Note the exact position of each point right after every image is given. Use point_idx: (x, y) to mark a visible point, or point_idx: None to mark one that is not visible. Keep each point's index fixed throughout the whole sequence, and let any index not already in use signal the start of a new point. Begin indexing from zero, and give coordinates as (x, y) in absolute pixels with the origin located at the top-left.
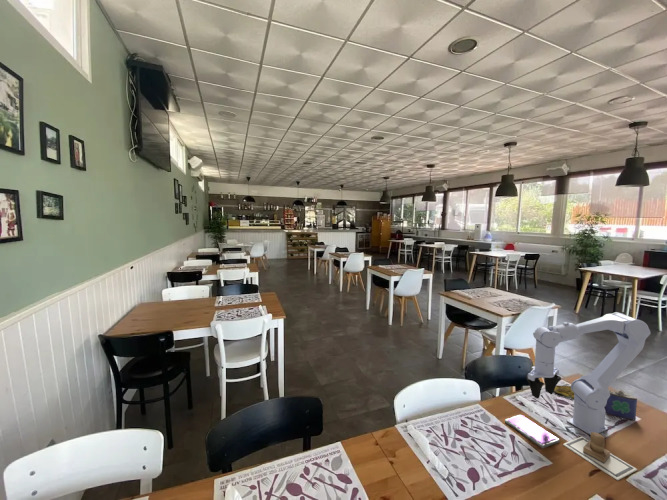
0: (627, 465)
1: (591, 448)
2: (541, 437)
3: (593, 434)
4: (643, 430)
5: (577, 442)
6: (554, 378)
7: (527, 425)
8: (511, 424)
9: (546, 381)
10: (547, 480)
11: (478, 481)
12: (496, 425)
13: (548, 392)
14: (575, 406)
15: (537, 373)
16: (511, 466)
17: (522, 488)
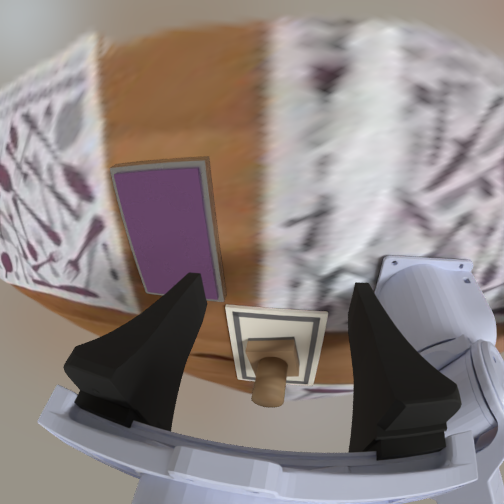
0: (305, 379)
1: (259, 361)
2: (165, 280)
3: (262, 396)
4: (498, 339)
5: (278, 320)
6: (355, 447)
7: (165, 227)
8: (117, 195)
9: (372, 353)
10: (101, 323)
11: (11, 273)
12: (80, 171)
13: (352, 300)
14: (406, 335)
15: (127, 470)
16: (56, 281)
17: (57, 309)
